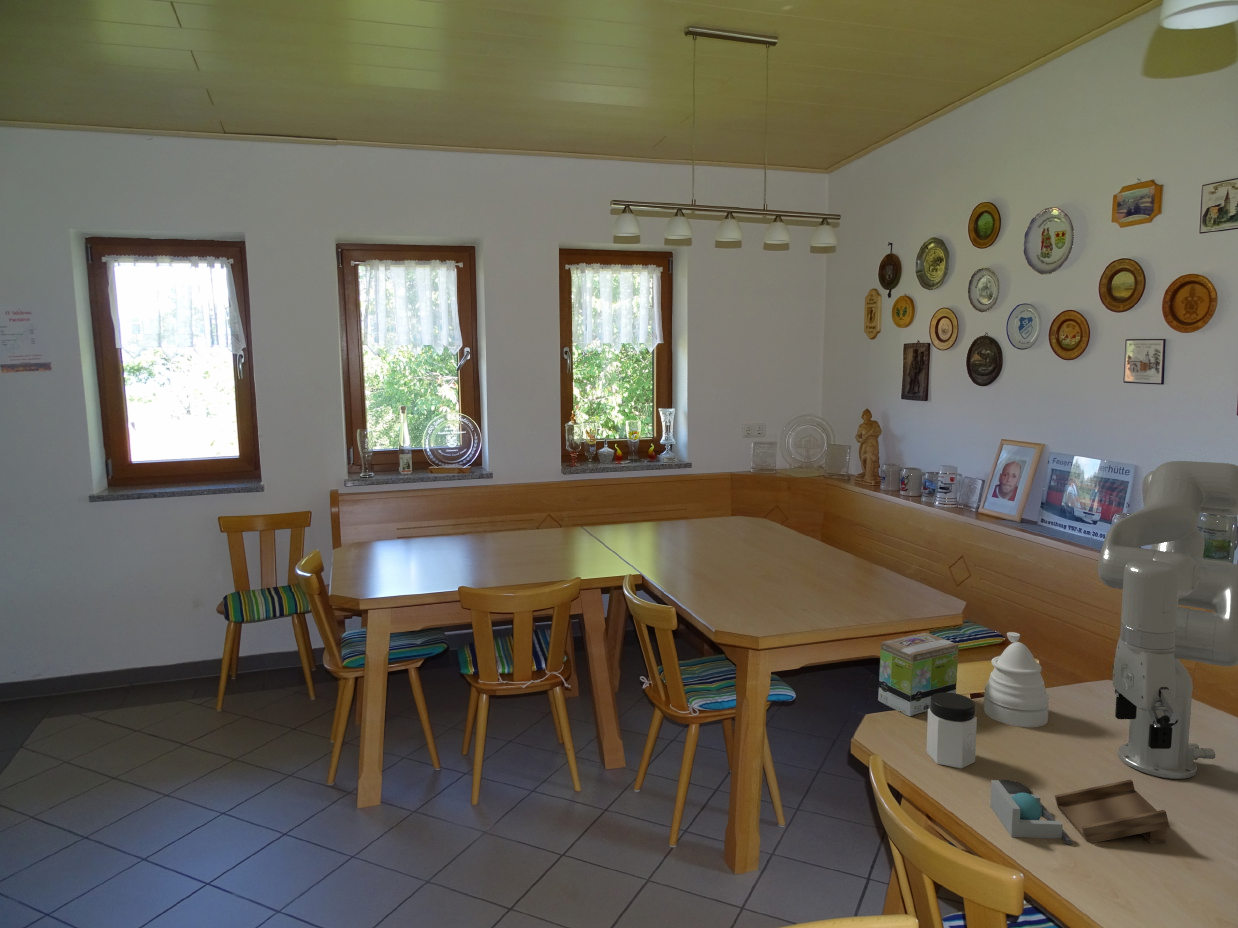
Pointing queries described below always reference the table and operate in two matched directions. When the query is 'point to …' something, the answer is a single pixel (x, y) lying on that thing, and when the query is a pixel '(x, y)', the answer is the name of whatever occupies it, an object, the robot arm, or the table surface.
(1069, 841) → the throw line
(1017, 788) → the dark grey disc
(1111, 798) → the ramp
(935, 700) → the jar
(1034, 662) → the honey pot
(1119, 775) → the table surface
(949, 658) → the tea box
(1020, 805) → the ball
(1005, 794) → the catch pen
